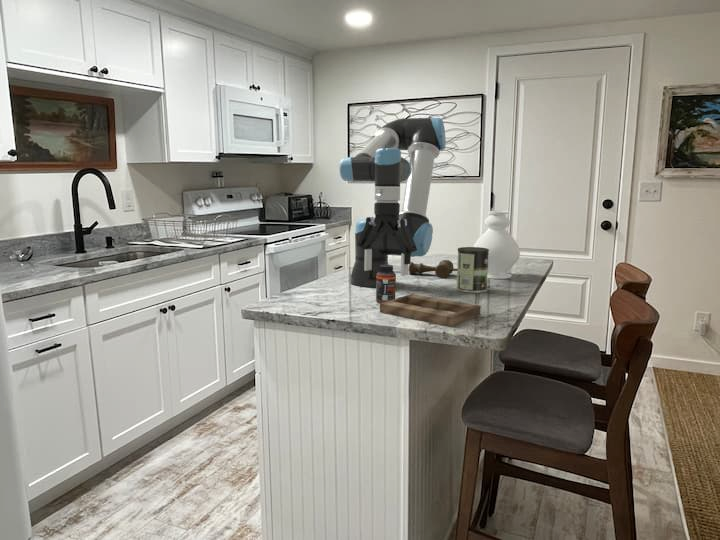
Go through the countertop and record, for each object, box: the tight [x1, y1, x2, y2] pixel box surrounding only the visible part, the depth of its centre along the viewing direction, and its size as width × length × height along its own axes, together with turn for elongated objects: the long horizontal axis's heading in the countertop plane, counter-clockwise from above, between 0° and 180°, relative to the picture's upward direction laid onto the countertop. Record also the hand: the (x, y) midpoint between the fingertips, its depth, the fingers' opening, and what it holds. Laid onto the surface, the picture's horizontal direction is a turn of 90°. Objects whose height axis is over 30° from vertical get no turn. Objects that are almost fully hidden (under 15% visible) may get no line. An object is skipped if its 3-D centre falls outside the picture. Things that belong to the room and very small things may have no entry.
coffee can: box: [456, 246, 489, 294], centre depth 178 cm, size 10×10×14 cm
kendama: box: [408, 259, 457, 279], centre depth 205 cm, size 6×10×20 cm
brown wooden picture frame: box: [379, 293, 482, 327], centre depth 148 cm, size 23×16×2 cm
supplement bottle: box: [375, 264, 397, 304], centre depth 161 cm, size 6×6×11 cm
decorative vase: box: [472, 210, 521, 280], centre depth 203 cm, size 18×18×25 cm
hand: (385, 272), depth 160 cm, fingers open, 13 cm apart
